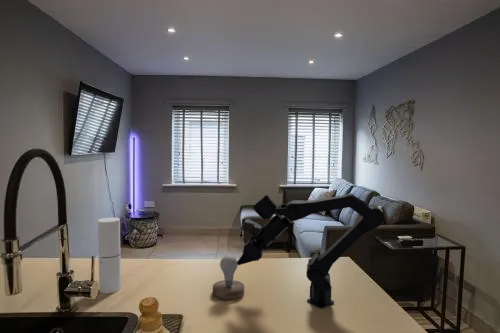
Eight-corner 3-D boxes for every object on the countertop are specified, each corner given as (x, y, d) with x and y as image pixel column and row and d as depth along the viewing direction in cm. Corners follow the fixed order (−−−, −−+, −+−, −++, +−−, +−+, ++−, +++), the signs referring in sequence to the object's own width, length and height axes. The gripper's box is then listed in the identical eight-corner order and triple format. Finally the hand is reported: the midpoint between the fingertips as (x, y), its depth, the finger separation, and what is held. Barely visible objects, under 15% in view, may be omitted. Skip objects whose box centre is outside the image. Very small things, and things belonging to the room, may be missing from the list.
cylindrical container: (113, 294, 120) (112, 222, 118) (95, 292, 122) (93, 221, 120) (124, 285, 127) (123, 218, 125) (107, 283, 129) (105, 216, 127)
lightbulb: (235, 281, 126) (235, 252, 125) (239, 288, 120) (239, 257, 119) (218, 283, 124) (218, 253, 123) (222, 291, 118) (222, 259, 117)
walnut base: (250, 294, 122) (250, 287, 121) (224, 303, 115) (224, 296, 115) (231, 283, 130) (232, 277, 130) (206, 291, 123) (206, 284, 123)
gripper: (260, 206, 127) (230, 234, 130) (251, 218, 109) (216, 250, 112) (281, 229, 127) (251, 256, 130) (275, 244, 108) (240, 276, 111)
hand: (240, 259), depth 121 cm, fingers open, 9 cm apart
